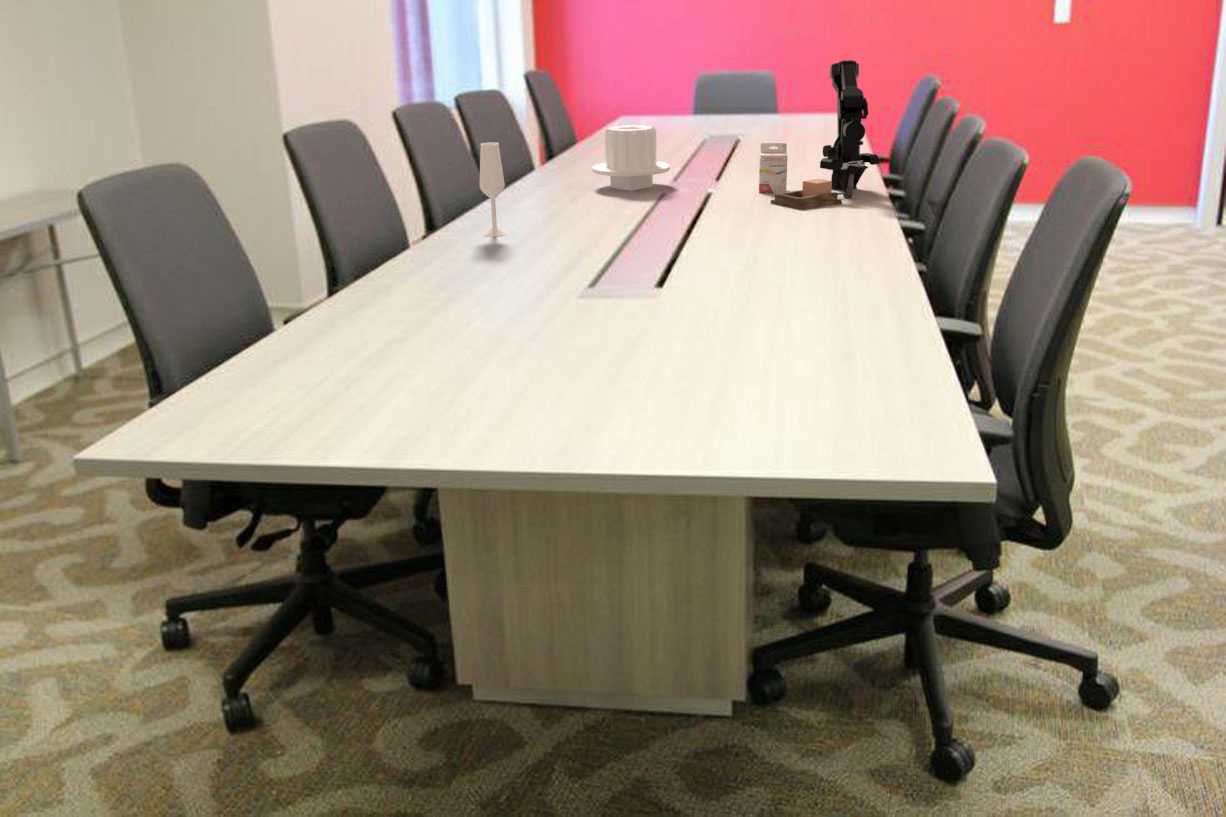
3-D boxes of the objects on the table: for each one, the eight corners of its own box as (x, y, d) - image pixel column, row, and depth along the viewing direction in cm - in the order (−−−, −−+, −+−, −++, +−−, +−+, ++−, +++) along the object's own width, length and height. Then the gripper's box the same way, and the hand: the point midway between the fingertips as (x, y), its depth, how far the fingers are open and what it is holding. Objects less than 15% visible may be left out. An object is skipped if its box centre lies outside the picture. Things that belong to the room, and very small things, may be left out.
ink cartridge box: (758, 193, 364) (759, 145, 359) (758, 190, 369) (759, 142, 364) (786, 193, 363) (788, 144, 358) (786, 190, 368) (787, 142, 363)
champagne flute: (479, 233, 318) (473, 143, 309) (503, 230, 320) (497, 141, 312) (487, 237, 312) (481, 146, 303) (511, 235, 314) (505, 144, 306)
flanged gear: (628, 197, 364) (627, 134, 357) (577, 188, 382) (575, 128, 375) (686, 186, 379) (686, 126, 373) (634, 178, 397) (633, 121, 390)
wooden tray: (809, 197, 355) (809, 187, 354) (841, 203, 344) (842, 193, 343) (770, 203, 348) (770, 193, 347) (802, 210, 336) (802, 199, 335)
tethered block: (844, 194, 357) (845, 172, 355) (858, 196, 352) (859, 175, 350) (802, 200, 349) (802, 178, 346) (815, 203, 344) (816, 181, 342)
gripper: (855, 132, 359) (852, 183, 364) (808, 137, 350) (806, 190, 355) (881, 135, 350) (878, 188, 356) (833, 141, 341) (831, 195, 346)
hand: (848, 190), depth 353 cm, fingers closed on tethered block, 3 cm apart
